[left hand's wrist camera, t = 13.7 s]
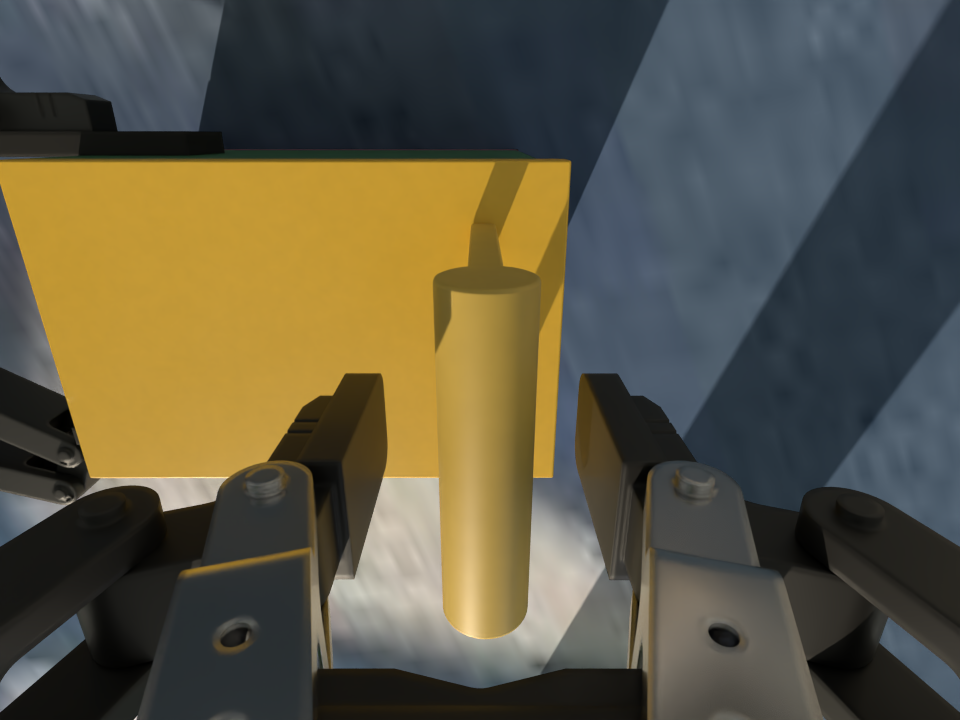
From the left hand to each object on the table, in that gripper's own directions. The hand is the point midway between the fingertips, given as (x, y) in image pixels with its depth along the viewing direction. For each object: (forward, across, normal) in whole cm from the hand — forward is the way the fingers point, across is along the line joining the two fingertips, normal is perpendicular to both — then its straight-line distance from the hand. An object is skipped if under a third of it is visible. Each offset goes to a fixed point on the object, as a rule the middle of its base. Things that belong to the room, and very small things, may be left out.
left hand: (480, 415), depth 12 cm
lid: (+6, +5, 0) cm, 8 cm away
